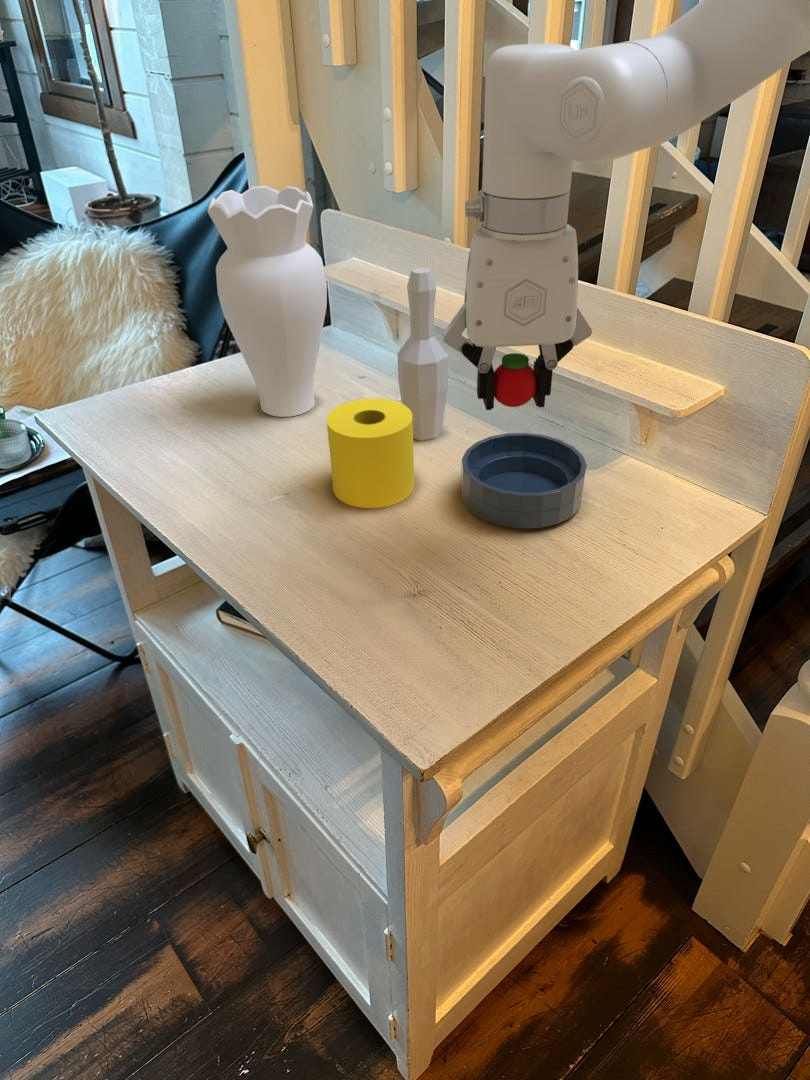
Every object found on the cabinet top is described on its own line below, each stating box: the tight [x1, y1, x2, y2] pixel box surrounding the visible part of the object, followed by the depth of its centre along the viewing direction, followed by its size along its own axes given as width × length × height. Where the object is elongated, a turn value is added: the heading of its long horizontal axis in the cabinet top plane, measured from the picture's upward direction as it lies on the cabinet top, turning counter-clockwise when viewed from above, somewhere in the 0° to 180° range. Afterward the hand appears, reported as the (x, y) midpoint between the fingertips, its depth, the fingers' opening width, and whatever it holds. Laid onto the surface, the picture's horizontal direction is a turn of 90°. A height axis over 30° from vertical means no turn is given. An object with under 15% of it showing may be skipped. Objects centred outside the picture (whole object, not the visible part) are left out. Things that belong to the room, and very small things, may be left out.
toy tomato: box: [494, 352, 537, 408], centre depth 76 cm, size 5×5×5 cm
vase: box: [206, 185, 328, 418], centre depth 104 cm, size 15×15×29 cm
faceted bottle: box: [397, 267, 449, 441], centre depth 98 cm, size 6×6×22 cm
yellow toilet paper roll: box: [326, 397, 415, 509], centre depth 91 cm, size 10×10×9 cm
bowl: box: [460, 432, 588, 529], centre depth 89 cm, size 14×14×5 cm
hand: (512, 401), depth 77 cm, fingers closed on toy tomato, 4 cm apart
